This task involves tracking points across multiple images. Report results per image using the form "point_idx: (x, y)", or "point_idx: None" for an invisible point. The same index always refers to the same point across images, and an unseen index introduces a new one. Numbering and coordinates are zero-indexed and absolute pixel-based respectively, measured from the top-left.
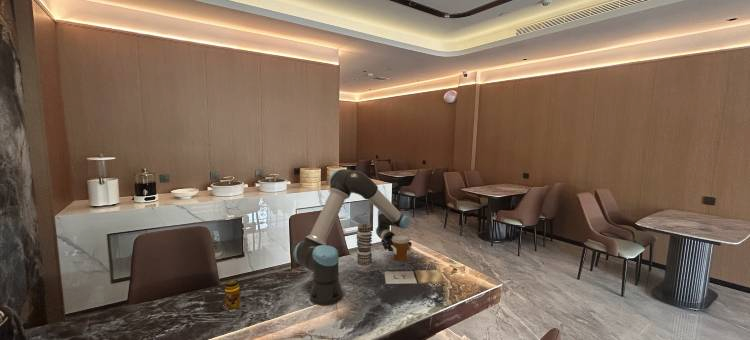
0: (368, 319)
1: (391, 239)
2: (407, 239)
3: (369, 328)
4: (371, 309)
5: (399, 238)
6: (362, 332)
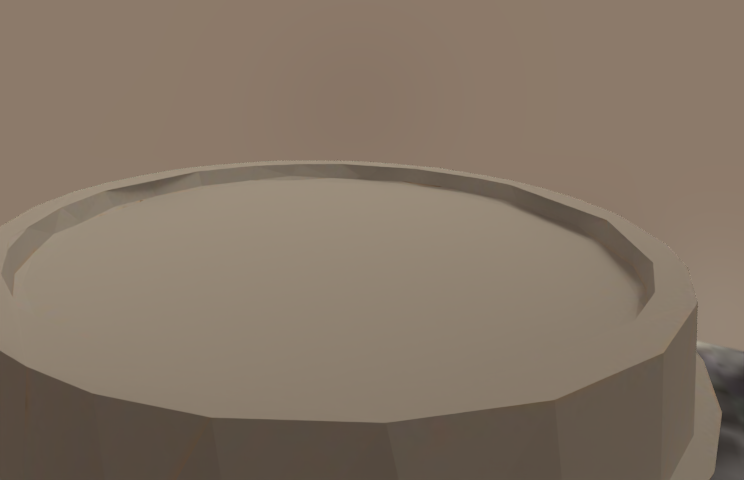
0: (727, 394)
1: (715, 411)
2: (258, 177)
3: (707, 357)
4: (728, 448)
5: (407, 228)
6: (736, 352)
